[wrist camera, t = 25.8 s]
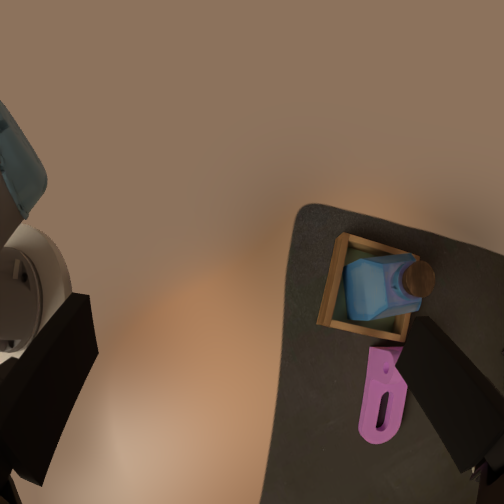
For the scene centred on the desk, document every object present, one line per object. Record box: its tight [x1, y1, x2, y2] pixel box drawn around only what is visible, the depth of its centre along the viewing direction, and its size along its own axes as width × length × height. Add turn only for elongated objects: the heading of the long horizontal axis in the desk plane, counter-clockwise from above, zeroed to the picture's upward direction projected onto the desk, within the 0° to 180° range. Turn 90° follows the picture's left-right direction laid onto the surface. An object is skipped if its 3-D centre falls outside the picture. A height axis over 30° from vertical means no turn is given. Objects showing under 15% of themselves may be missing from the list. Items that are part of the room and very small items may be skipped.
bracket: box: [358, 346, 407, 444], centre depth 29 cm, size 13×6×7 cm, turn 175°
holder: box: [316, 232, 420, 342], centre depth 34 cm, size 11×11×3 cm
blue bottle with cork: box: [342, 253, 435, 321], centre depth 29 cm, size 6×6×12 cm
